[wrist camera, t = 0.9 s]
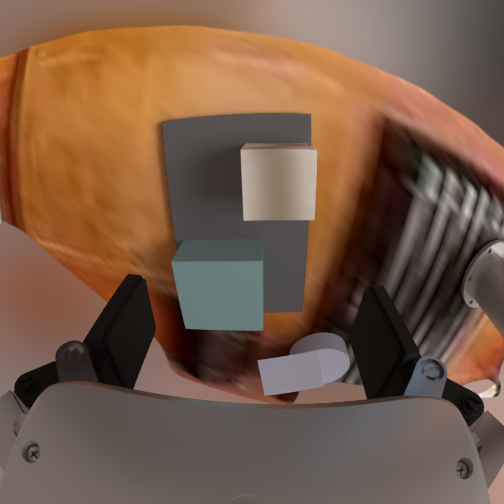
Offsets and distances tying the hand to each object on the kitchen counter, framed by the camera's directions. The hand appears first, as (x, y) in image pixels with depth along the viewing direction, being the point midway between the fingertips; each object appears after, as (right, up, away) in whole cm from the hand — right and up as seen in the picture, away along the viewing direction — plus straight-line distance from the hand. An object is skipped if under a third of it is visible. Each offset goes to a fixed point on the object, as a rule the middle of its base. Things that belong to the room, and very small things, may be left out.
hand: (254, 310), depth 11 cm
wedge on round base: (+8, -14, +30) cm, 34 cm away
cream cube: (+2, +11, +16) cm, 19 cm away
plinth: (-3, 0, +22) cm, 22 cm away
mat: (-1, +6, +20) cm, 21 cm away
